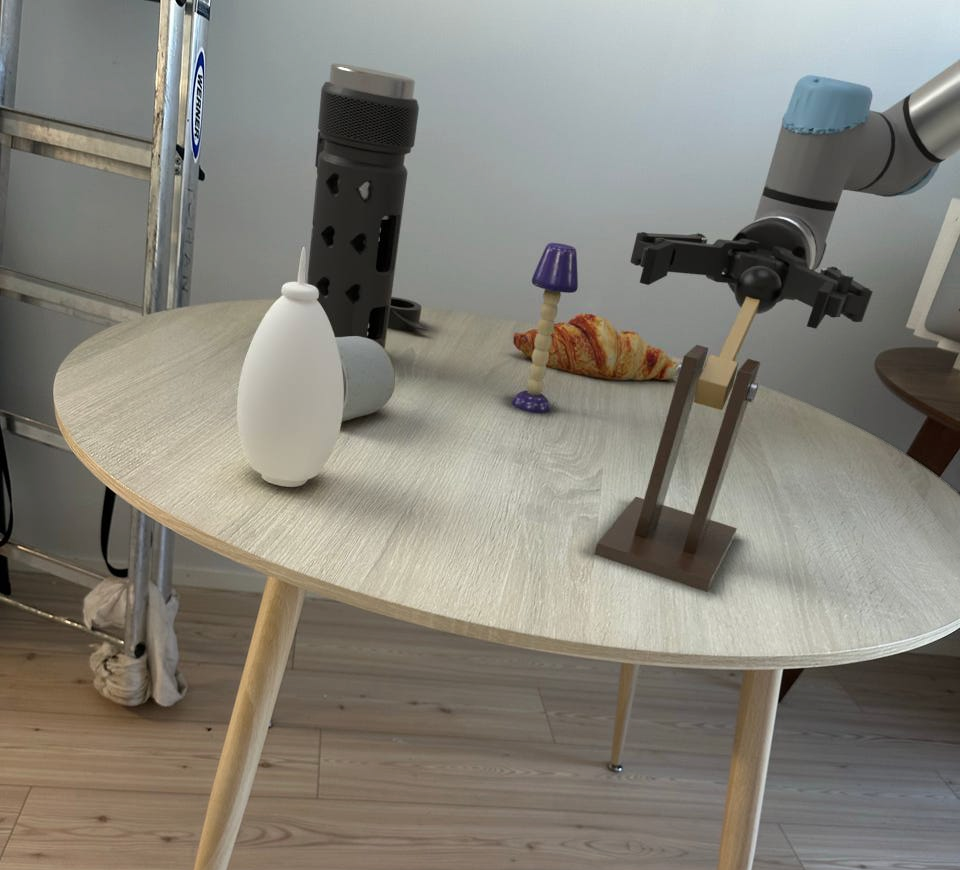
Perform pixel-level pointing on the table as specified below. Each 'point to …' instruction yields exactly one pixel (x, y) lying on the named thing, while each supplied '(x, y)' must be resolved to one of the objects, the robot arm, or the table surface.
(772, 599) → the table surface
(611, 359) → the croissant
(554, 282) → the toy lamp
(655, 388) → the table surface
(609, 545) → the stand
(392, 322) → the duct tape
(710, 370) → the lever
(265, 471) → the air blower bulb
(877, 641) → the table surface
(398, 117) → the water bottle
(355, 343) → the ceramic mug
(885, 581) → the table surface
